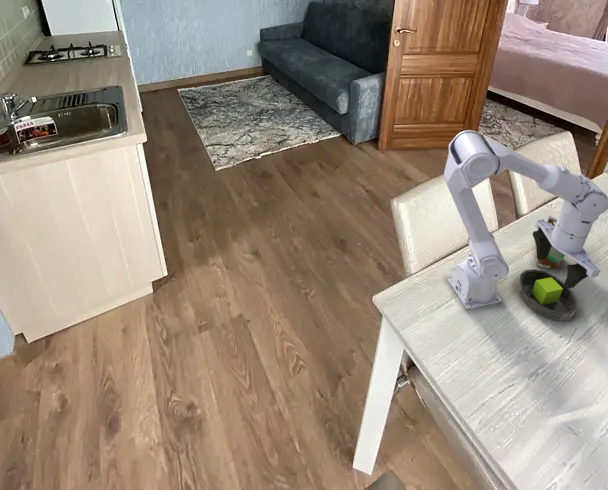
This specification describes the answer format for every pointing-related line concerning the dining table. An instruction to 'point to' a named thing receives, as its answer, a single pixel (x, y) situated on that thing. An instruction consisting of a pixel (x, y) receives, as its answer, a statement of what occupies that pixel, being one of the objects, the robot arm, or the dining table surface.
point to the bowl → (550, 311)
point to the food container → (551, 253)
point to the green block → (547, 291)
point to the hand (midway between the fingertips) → (554, 272)
